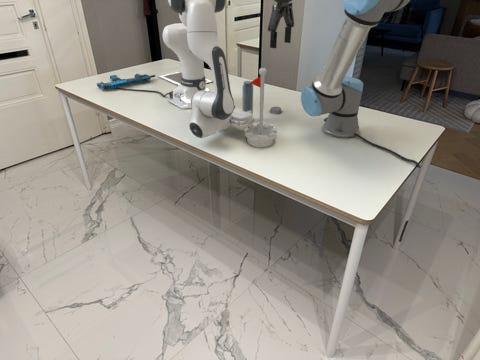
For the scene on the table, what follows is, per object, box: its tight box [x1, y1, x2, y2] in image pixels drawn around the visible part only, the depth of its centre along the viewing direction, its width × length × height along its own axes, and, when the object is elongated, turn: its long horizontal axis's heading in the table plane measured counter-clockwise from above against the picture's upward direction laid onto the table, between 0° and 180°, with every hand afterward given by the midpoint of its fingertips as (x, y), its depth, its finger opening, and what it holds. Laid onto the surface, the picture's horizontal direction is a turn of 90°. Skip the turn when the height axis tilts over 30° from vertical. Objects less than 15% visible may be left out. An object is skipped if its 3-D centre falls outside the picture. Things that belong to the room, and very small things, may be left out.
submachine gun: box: [96, 73, 156, 91], centre depth 208 cm, size 34×4×25 cm
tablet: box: [157, 70, 214, 86], centre depth 214 cm, size 32×20×1 cm, turn 41°
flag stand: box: [244, 67, 278, 148], centre depth 133 cm, size 13×13×30 cm
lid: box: [270, 106, 282, 115], centre depth 168 cm, size 5×5×2 cm
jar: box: [241, 80, 254, 122], centre depth 155 cm, size 5×5×18 cm
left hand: (242, 109), depth 153 cm, fingers open, 8 cm apart
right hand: (280, 45), depth 151 cm, fingers open, 13 cm apart
